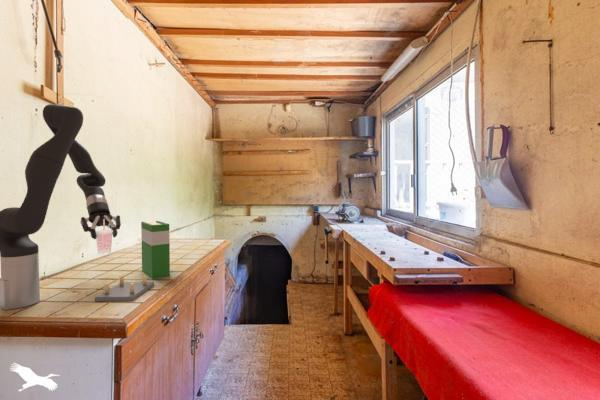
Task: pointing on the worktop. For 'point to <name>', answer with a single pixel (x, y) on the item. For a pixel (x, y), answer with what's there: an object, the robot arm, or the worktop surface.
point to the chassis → (124, 290)
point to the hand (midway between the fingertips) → (105, 236)
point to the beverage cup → (104, 240)
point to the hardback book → (155, 249)
